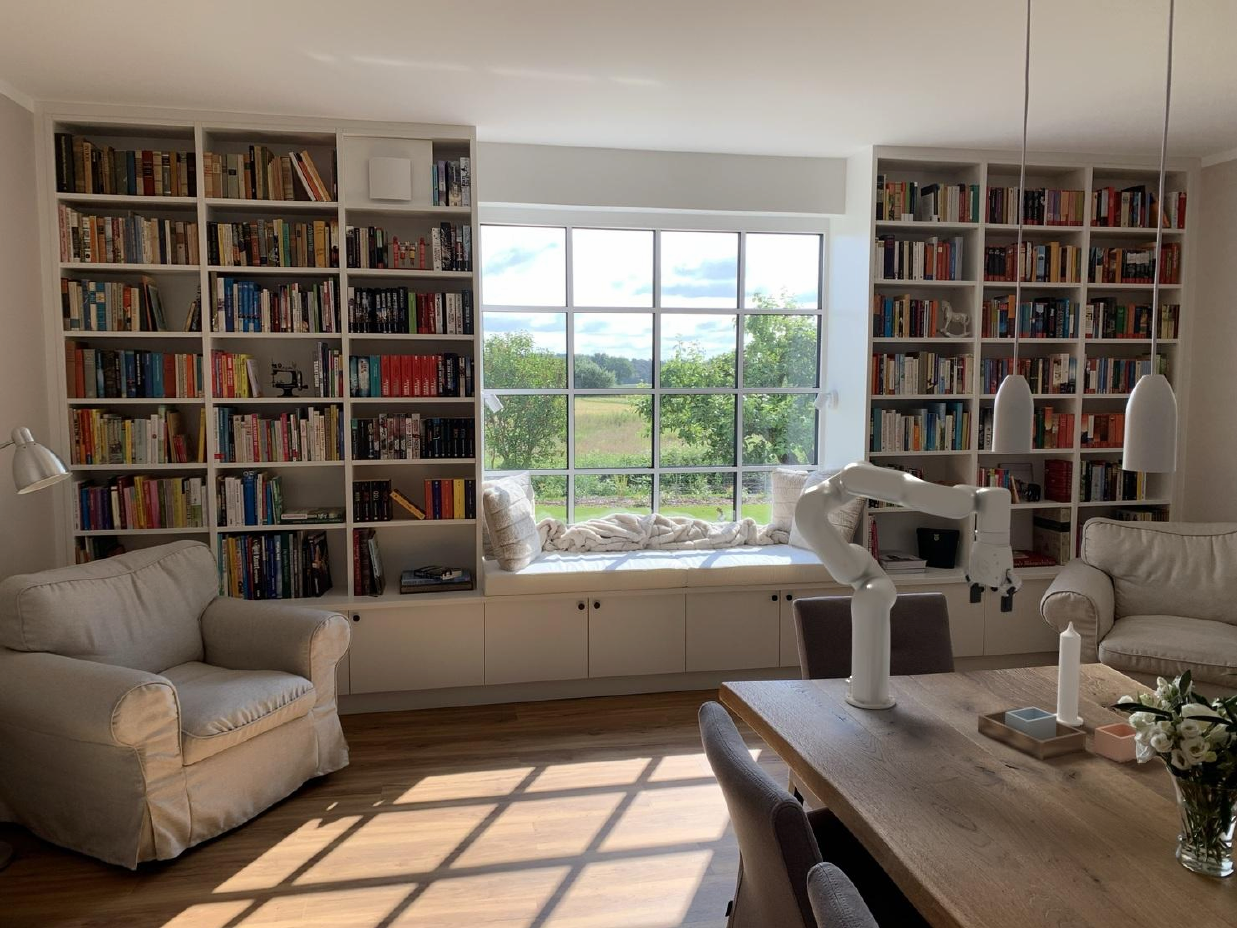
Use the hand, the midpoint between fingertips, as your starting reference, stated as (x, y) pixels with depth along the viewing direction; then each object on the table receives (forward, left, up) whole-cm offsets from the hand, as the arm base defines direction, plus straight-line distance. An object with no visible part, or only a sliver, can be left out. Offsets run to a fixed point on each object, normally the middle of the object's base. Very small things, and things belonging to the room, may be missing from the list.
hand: (990, 607), depth 219 cm
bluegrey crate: (+14, -1, -28) cm, 31 cm away
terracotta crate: (+28, +11, -28) cm, 41 cm away
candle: (+9, +17, -28) cm, 34 cm away
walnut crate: (+14, -1, -28) cm, 32 cm away
